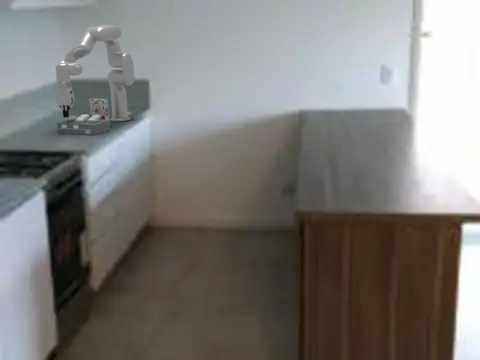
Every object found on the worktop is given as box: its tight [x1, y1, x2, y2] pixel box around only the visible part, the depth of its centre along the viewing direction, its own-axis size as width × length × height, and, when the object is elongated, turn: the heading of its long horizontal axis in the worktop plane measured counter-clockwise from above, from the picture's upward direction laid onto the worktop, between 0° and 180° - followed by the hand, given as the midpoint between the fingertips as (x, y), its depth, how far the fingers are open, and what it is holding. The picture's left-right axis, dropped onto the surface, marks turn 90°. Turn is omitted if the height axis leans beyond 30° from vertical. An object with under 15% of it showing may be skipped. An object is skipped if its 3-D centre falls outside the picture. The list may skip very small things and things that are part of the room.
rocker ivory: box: [76, 113, 90, 122], centre depth 406 cm, size 7×4×2 cm, turn 157°
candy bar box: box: [88, 98, 111, 127], centre depth 423 cm, size 11×5×16 cm, turn 62°
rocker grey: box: [63, 115, 79, 121], centre depth 409 cm, size 7×4×2 cm, turn 157°
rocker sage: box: [87, 115, 101, 123], centre depth 403 cm, size 7×4×2 cm, turn 157°
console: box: [56, 119, 110, 136], centre depth 407 cm, size 14×26×7 cm, turn 67°
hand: (66, 117), depth 405 cm, fingers closed
